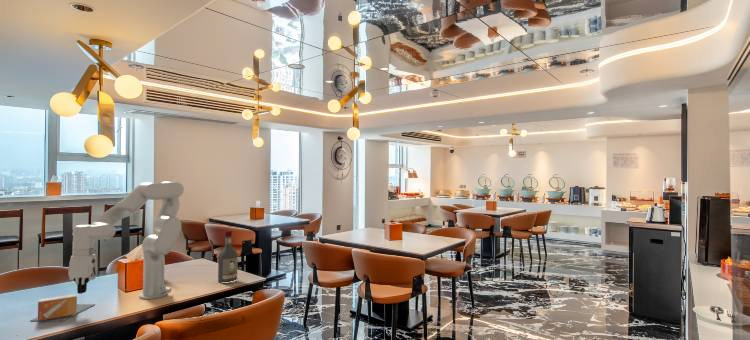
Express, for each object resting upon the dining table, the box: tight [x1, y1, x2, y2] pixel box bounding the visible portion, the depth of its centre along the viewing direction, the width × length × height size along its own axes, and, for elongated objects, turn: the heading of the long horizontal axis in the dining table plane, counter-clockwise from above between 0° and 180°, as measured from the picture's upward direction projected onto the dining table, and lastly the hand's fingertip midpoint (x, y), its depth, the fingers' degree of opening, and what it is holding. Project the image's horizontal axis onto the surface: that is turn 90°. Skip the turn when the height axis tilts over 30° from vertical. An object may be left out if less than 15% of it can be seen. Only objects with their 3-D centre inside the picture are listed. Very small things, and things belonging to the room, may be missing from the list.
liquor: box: [217, 230, 239, 283], centre depth 224 cm, size 9×9×30 cm
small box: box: [37, 293, 78, 322], centre depth 166 cm, size 8×6×13 cm
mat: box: [30, 303, 96, 322], centre depth 172 cm, size 13×20×1 cm, turn 1°
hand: (81, 292), depth 172 cm, fingers closed
